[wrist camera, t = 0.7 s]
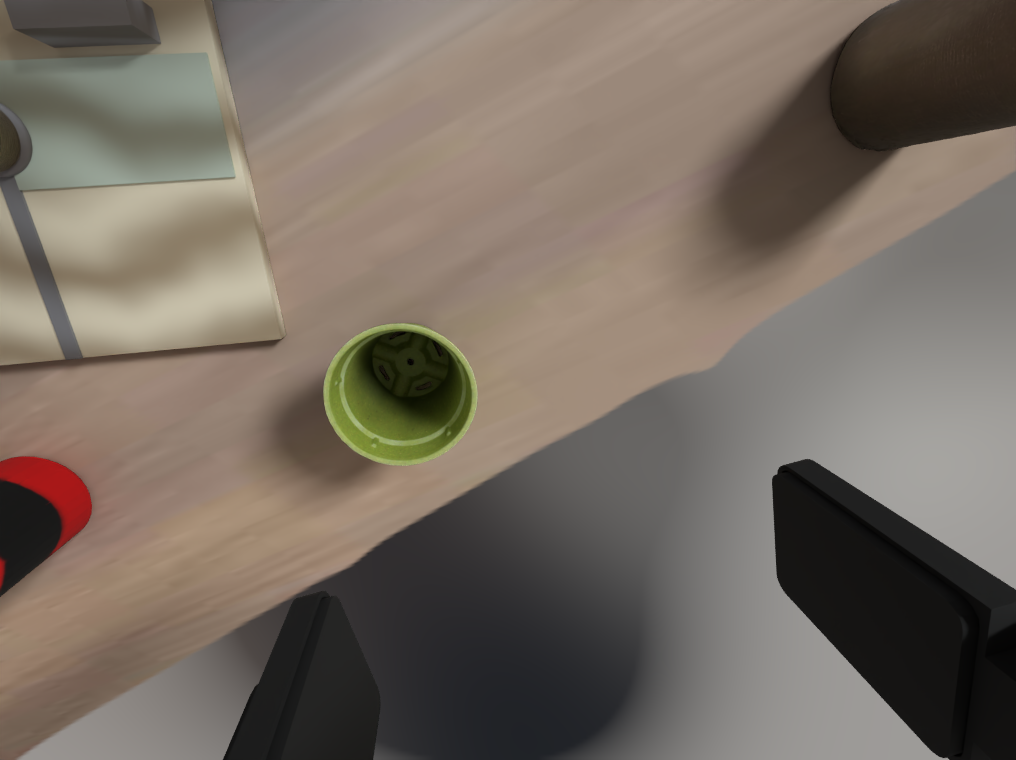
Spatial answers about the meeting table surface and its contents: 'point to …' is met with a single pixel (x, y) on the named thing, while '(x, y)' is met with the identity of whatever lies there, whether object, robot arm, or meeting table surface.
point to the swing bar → (8, 143)
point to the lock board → (125, 185)
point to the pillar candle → (927, 73)
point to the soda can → (37, 514)
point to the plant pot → (400, 394)
